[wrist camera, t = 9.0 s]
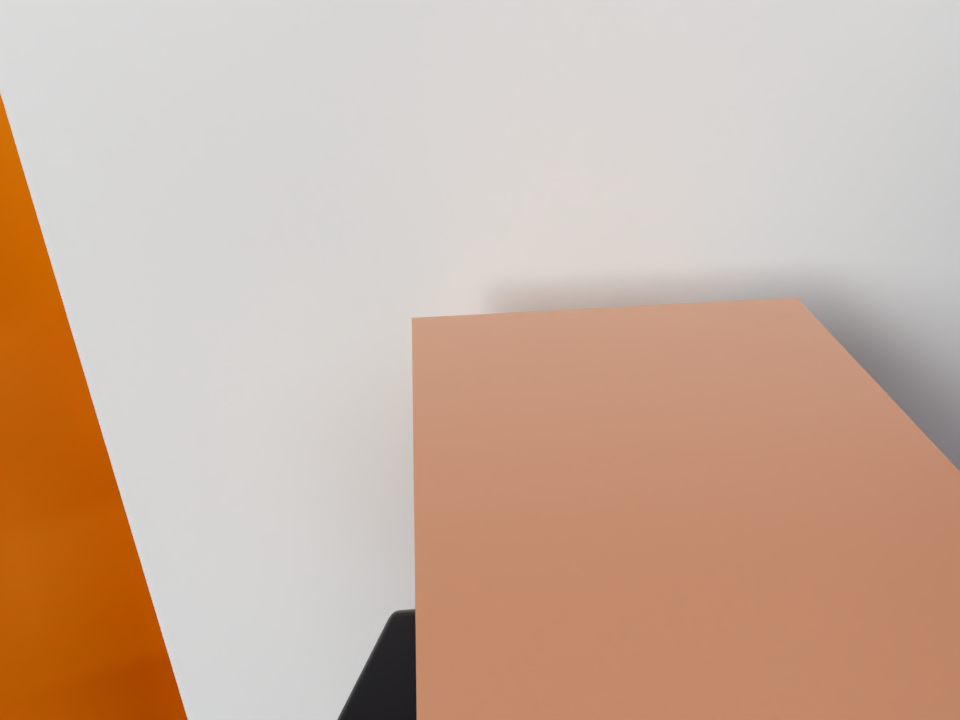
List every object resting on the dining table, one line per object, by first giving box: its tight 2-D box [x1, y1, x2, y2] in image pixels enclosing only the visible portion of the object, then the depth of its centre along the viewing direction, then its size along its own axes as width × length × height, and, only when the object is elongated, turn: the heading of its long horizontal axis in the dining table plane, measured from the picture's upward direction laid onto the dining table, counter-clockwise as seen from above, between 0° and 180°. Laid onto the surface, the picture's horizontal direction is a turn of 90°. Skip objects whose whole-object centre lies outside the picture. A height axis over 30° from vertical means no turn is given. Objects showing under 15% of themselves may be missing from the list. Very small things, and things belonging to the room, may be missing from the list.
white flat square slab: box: [0, 0, 960, 720], centre depth 11 cm, size 12×12×1 cm
